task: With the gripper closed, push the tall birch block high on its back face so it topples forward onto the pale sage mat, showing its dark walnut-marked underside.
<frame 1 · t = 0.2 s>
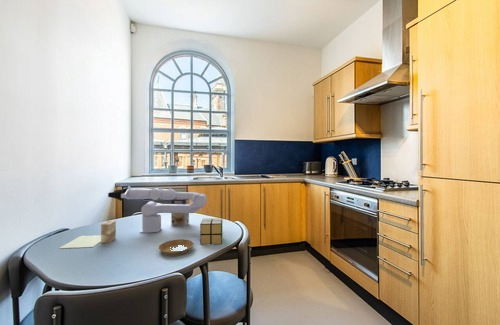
hand: (111, 193, 124), 21 cm above the table, tool horizontal, fingers open, 7 cm apart
birch block: (108, 240, 112), on the table
plant saucer: (176, 251, 101), on the table
puzzle cube: (211, 241, 113), on the table
coffee box: (180, 225, 140), on the table
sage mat: (86, 241, 111), on the table
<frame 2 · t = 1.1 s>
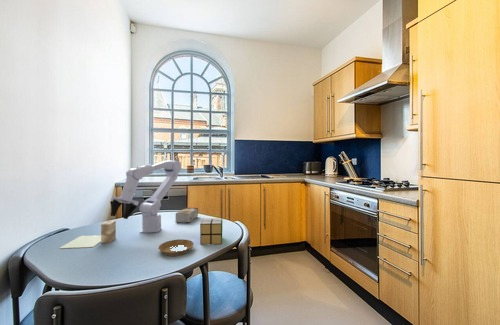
hand: (118, 217, 113), 11 cm above the table, tool tilted 25°, fingers open, 7 cm apart
coffee box: (182, 218, 143), point 3 cm above the table
everything else where it was.
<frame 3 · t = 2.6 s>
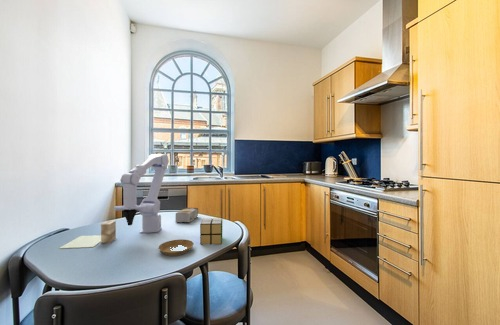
hand: (130, 224, 114), 7 cm above the table, tool pointing down, fingers closed
nothing on the table moved.
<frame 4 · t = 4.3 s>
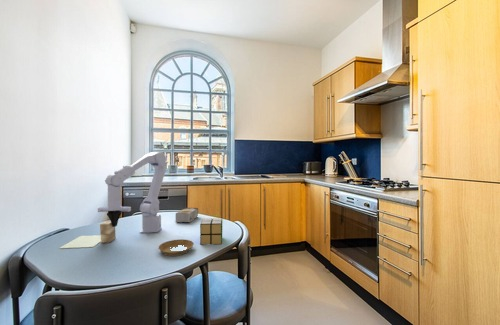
hand: (114, 226, 113), 7 cm above the table, tool pointing down, fingers closed
nothing on the table moved.
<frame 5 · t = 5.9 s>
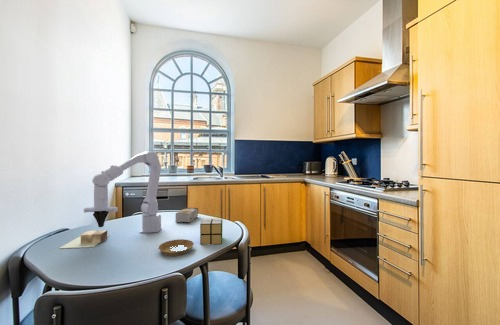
hand: (101, 226, 112), 7 cm above the table, tool pointing down, fingers closed
birch block: (104, 236, 112), point 2 cm above the table, tilted 90°, touching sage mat
everything else where it was.
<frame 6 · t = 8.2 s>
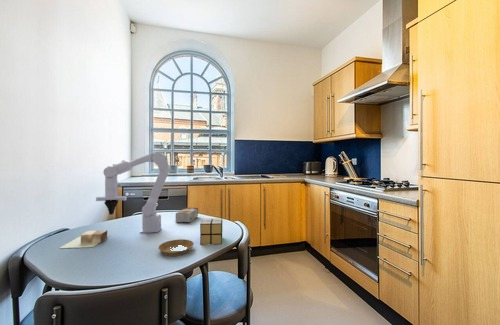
hand: (111, 214, 123), 10 cm above the table, tool pointing down, fingers closed
nothing on the table moved.
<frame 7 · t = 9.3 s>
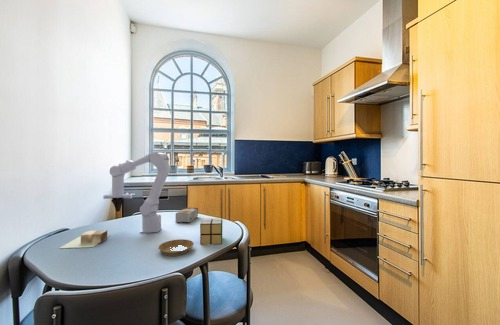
hand: (118, 211, 130), 10 cm above the table, tool pointing down, fingers closed
nothing on the table moved.
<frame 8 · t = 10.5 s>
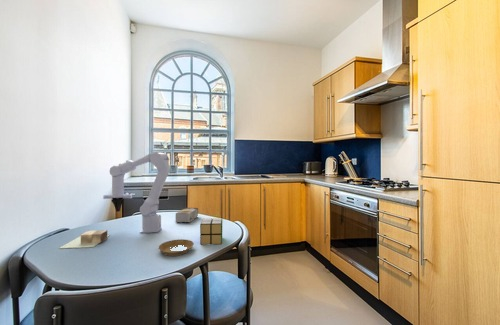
hand: (118, 211, 130), 10 cm above the table, tool pointing down, fingers closed
nothing on the table moved.
at the end: birch block tilted 90°; birch block touching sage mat; birch block inside the target area (1.6 cm from its centre), point 2.3 cm above the table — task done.
